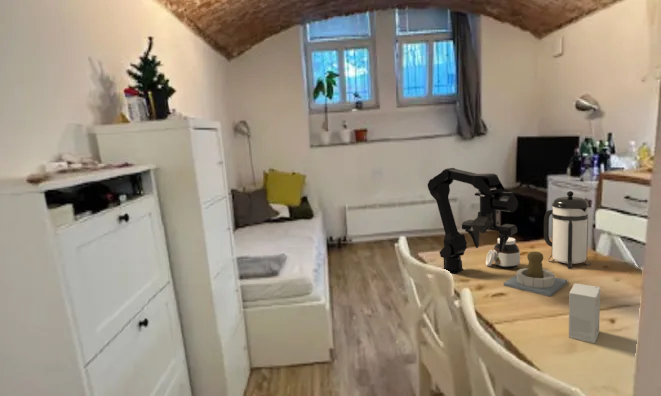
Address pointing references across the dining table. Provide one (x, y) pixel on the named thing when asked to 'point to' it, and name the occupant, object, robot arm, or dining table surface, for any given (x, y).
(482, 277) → the dining table surface
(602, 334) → the dining table surface
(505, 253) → the spread jar
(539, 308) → the dining table surface
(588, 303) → the small box
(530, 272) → the cork
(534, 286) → the mount
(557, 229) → the coffee press
